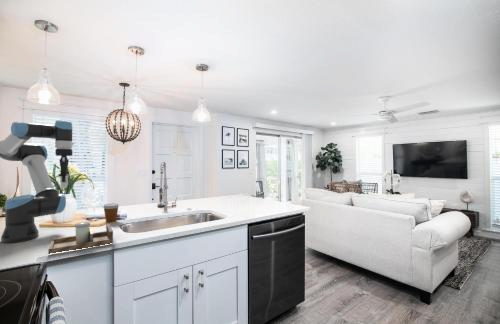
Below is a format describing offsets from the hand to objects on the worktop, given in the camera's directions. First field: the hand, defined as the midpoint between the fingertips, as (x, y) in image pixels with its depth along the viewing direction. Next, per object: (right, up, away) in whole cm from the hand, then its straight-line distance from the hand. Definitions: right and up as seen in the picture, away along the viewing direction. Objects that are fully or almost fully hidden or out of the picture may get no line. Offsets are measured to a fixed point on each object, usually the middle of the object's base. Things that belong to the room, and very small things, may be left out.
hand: (64, 186), depth 136 cm
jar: (+17, -28, -9) cm, 34 cm away
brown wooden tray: (+17, -29, -9) cm, 35 cm away
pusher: (+20, -28, -7) cm, 35 cm away
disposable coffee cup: (+6, -28, +35) cm, 45 cm away
